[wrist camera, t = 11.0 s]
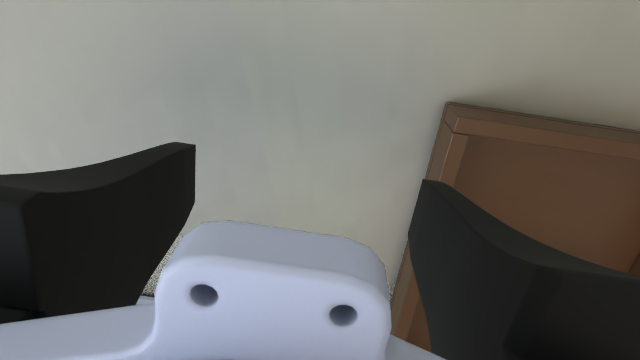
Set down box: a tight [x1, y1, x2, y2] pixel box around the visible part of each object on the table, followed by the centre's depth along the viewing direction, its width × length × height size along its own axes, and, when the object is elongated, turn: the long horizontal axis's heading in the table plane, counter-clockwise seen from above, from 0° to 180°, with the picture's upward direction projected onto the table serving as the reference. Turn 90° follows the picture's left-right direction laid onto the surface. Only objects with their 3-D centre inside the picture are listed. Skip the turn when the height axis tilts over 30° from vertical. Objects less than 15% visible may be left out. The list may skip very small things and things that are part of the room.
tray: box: [390, 102, 640, 352], centre depth 25 cm, size 19×14×2 cm
